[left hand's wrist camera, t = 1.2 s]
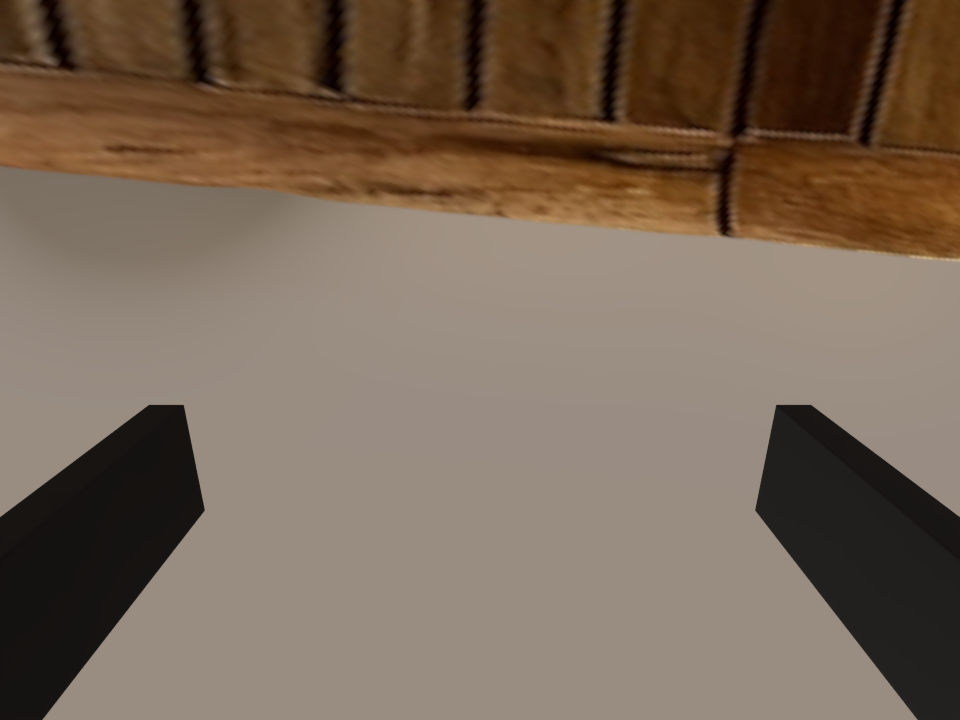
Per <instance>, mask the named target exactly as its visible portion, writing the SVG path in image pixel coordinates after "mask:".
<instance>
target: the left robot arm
mask: <svg viewBox="0 0 960 720" xmlns="http://www.w3.org/2000/svg"><path fill="white" fill-rule="evenodd" d="M204 510H205V509H204V504H203V499H202V494H201V489H200V484H199V479H198V474H197V469H196V464H195V459H194V454H193V449H192V444H191V439H190V434H189V429H188V424H187V419H186V414H185V409H184V405H148V406H147V407H146V408H144V409H143V410H142V411H140V412H139V413H138V414H136V415H135V416H134V417H132V418H131V419H130V420H128V421H127V422H126V423H124V424H123V425H122V426H121V427H119V428H118V429H117V430H115V431H114V432H113V433H111V434H110V435H109V436H107V437H106V438H105V439H103V440H102V441H101V442H99V443H98V444H97V445H95V446H94V447H93V448H91V449H90V450H89V451H87V452H86V453H85V454H83V455H82V456H81V457H79V458H78V459H77V460H75V461H74V462H73V463H71V464H70V465H69V466H67V467H66V468H65V469H63V470H62V471H61V472H60V473H58V474H57V475H56V476H54V477H53V478H52V479H50V480H49V481H48V482H46V483H45V484H44V485H42V486H41V487H40V488H38V489H37V490H36V491H34V492H33V493H32V494H30V495H29V496H28V497H26V498H25V499H24V500H22V501H21V502H20V503H18V504H17V505H16V506H14V507H13V508H12V509H10V510H9V511H8V512H6V513H5V514H4V515H2V516H1V517H0V720H42V719H43V718H44V717H45V716H46V714H47V713H48V712H49V710H50V709H51V708H52V707H53V705H54V704H55V703H56V701H57V700H58V699H59V698H60V696H61V695H62V694H63V692H64V691H65V690H66V689H67V687H68V686H69V685H70V683H71V682H72V681H73V680H74V678H75V677H76V676H77V674H78V673H79V672H80V670H81V669H82V668H83V667H84V665H85V664H86V663H87V662H88V660H89V659H90V658H91V656H92V655H93V654H94V652H95V651H96V650H97V649H98V647H99V646H100V645H101V643H102V642H103V641H104V640H105V638H106V637H107V636H108V634H109V633H110V632H111V631H112V629H113V628H114V627H115V625H116V624H117V623H118V622H119V620H120V619H121V618H122V616H123V615H124V614H125V612H126V611H127V610H128V609H129V607H130V606H131V605H132V603H133V602H134V601H135V600H136V598H137V597H138V596H139V594H140V593H141V592H142V591H143V589H144V588H145V587H146V585H147V584H148V583H149V582H150V580H151V579H152V578H153V576H154V575H155V574H156V573H157V571H158V570H159V569H160V567H161V566H162V565H163V563H164V562H165V561H166V560H167V558H168V557H169V556H170V555H171V553H172V552H173V551H174V549H175V548H176V547H177V545H178V544H179V543H180V542H181V540H182V539H183V538H184V536H185V535H186V534H187V533H188V531H189V530H190V529H191V527H192V526H193V525H194V524H195V522H196V521H197V520H198V518H199V517H200V516H201V515H202V513H203V512H204ZM755 511H756V512H757V513H758V515H759V516H760V517H761V518H762V520H763V521H764V522H765V524H766V525H767V526H768V527H769V529H770V530H771V531H772V533H773V534H774V535H775V536H776V538H777V539H778V540H779V542H780V543H781V544H782V545H783V547H784V548H785V549H786V551H787V552H788V553H789V555H790V556H791V557H792V558H793V560H794V561H795V562H796V564H797V565H798V566H799V567H800V569H801V570H802V571H803V573H804V574H805V575H806V576H807V578H808V579H809V580H810V582H811V583H812V584H813V585H814V587H815V588H816V589H817V591H818V592H819V593H820V594H821V596H822V597H823V598H824V600H825V601H826V602H827V603H828V605H829V606H830V607H831V609H832V610H833V611H834V612H835V614H836V615H837V616H838V618H839V619H840V620H841V622H842V623H843V624H844V625H845V627H846V628H847V629H848V630H849V632H850V633H851V634H852V636H853V637H854V638H855V640H856V641H857V642H858V643H859V645H860V646H861V647H862V649H863V650H864V651H865V652H866V654H867V655H868V656H869V658H870V659H871V660H872V662H873V663H874V664H875V665H876V667H877V668H878V669H879V671H880V672H881V673H882V674H883V676H884V677H885V678H886V680H887V681H888V682H889V683H890V685H891V686H892V687H893V689H894V690H895V691H896V692H897V694H898V695H899V696H900V698H901V699H902V700H903V701H904V703H905V704H906V705H907V707H908V708H909V709H910V711H911V712H912V713H913V714H914V716H915V717H916V718H917V720H960V517H959V516H958V515H956V514H955V513H953V512H952V511H951V510H950V509H948V508H947V507H946V506H944V505H943V504H942V503H940V502H939V501H938V500H936V499H935V498H934V497H932V496H931V495H930V494H928V493H927V492H926V491H924V490H923V489H922V488H920V487H919V486H918V485H916V484H915V483H914V482H912V481H911V480H910V479H908V478H907V477H906V476H904V475H903V474H902V473H901V472H899V471H898V470H897V469H895V468H894V467H893V466H891V465H890V464H889V463H887V462H886V461H885V460H883V459H882V458H881V457H879V456H878V455H877V454H875V453H874V452H873V451H871V450H870V449H869V448H867V447H866V446H865V445H863V444H862V443H861V442H859V441H858V440H857V439H855V438H854V437H853V436H851V435H850V434H849V433H847V432H846V431H845V430H843V429H842V428H841V427H839V426H838V425H837V424H835V423H834V422H833V421H831V420H830V419H829V418H827V417H826V416H825V415H824V414H822V413H821V412H820V411H818V410H817V409H816V408H814V407H813V406H812V405H776V409H775V414H774V420H773V424H772V429H771V434H770V439H769V444H768V449H767V454H766V459H765V464H764V469H763V474H762V479H761V484H760V489H759V494H758V499H757V504H756V509H755Z"/></svg>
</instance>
